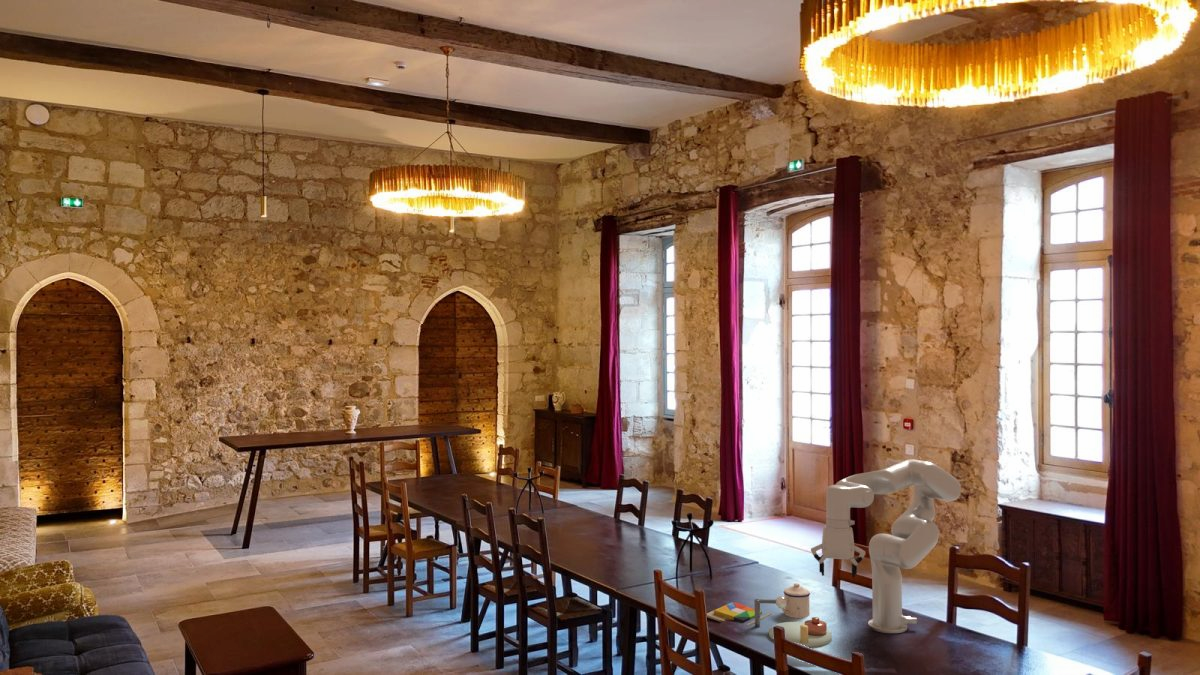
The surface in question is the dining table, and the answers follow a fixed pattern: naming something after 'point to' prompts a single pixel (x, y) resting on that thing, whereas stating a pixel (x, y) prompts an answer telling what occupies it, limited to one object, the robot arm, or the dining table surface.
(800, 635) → the turntable
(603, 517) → the dining table surface
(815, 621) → the cover
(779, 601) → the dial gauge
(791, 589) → the teacup with lid
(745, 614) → the wooden puzzle
